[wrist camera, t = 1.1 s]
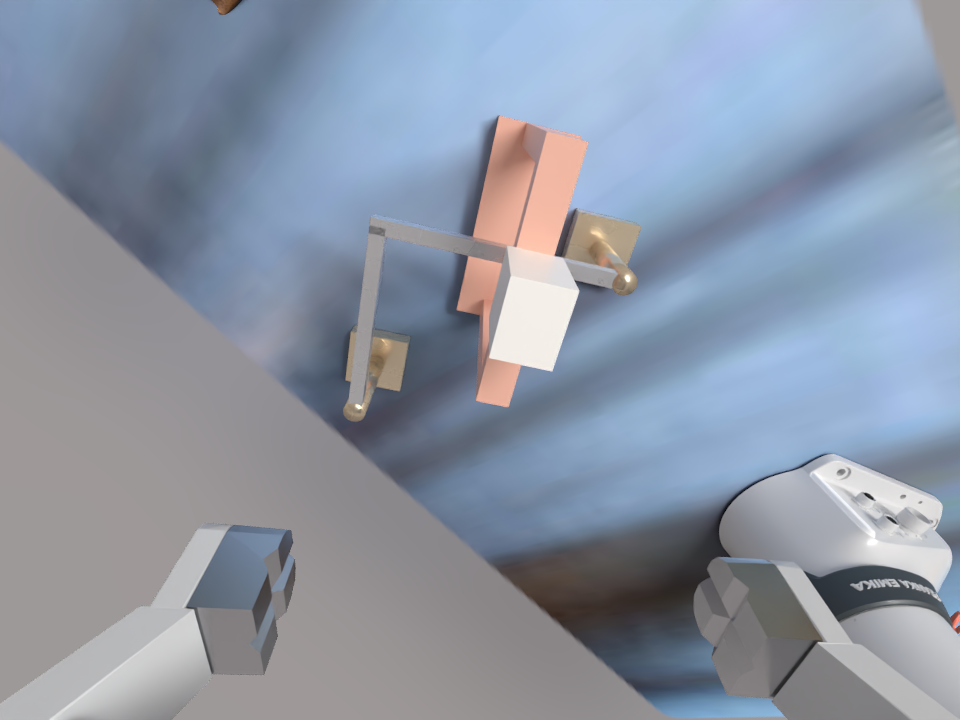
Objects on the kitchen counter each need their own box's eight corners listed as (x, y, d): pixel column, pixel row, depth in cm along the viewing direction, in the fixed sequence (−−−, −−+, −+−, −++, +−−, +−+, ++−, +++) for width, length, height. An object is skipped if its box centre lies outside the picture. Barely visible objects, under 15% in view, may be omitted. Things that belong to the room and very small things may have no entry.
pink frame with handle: (577, 135, 36) (663, 163, 18) (524, 318, 43) (549, 468, 25) (498, 115, 36) (508, 124, 18) (457, 303, 42) (434, 446, 25)
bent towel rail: (636, 222, 39) (677, 255, 30) (564, 415, 47) (581, 482, 39) (374, 159, 37) (340, 175, 29) (349, 372, 46) (317, 432, 37)
